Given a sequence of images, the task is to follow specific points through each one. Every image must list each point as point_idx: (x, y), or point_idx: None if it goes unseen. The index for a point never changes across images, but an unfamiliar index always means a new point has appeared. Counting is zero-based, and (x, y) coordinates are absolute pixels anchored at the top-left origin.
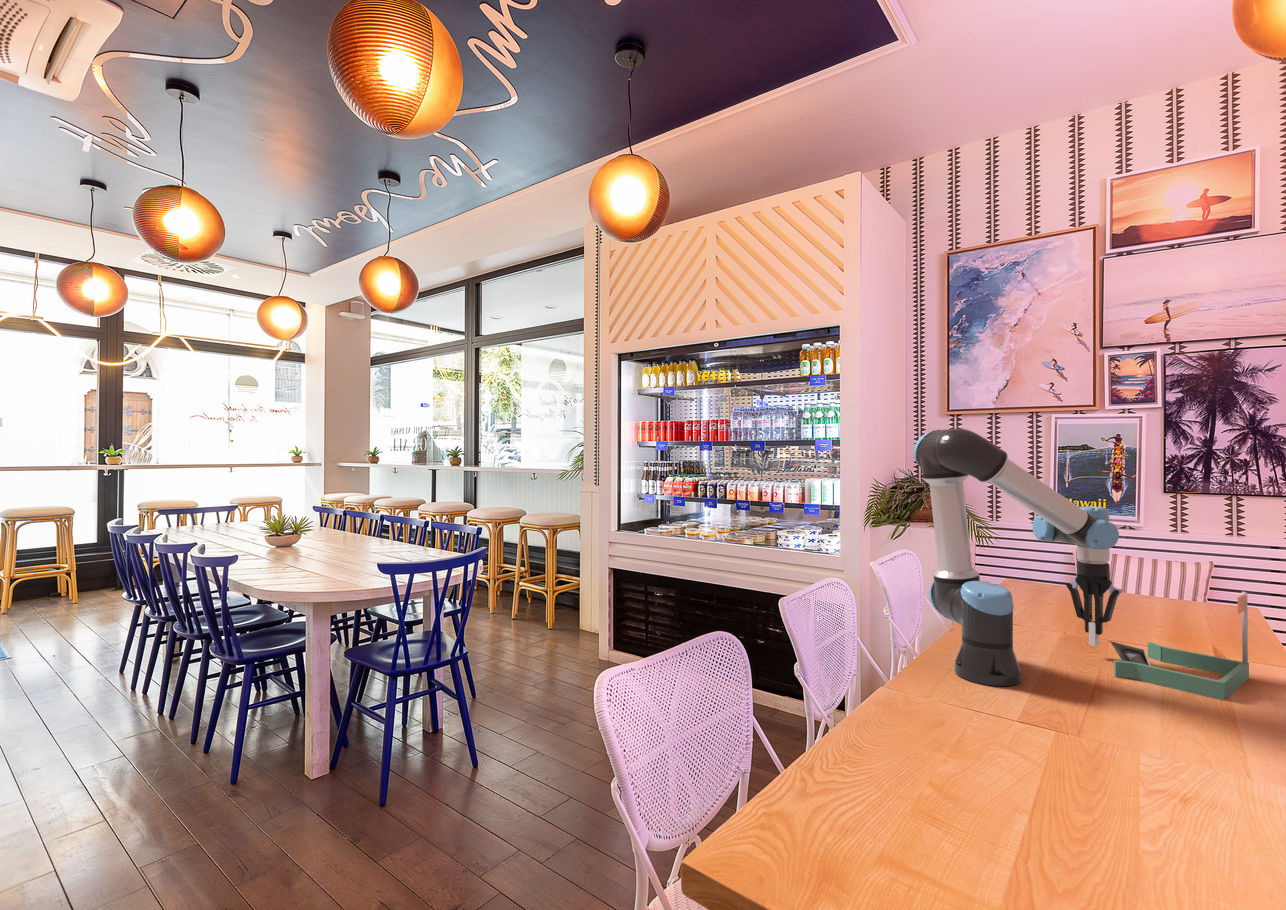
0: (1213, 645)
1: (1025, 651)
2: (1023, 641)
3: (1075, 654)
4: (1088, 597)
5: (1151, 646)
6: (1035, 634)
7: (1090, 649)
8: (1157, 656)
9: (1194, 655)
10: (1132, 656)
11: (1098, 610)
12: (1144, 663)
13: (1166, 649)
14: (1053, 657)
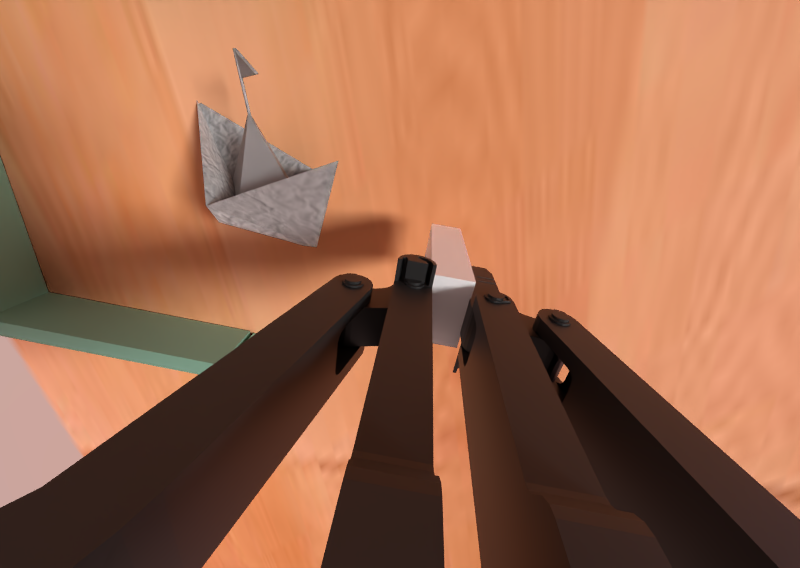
0: None
1: (757, 96)
2: (729, 289)
3: (509, 224)
4: (539, 493)
5: None
6: None
7: None
8: None
9: (124, 340)
10: (249, 133)
11: (394, 339)
12: (236, 177)
13: (208, 358)
14: (609, 82)
